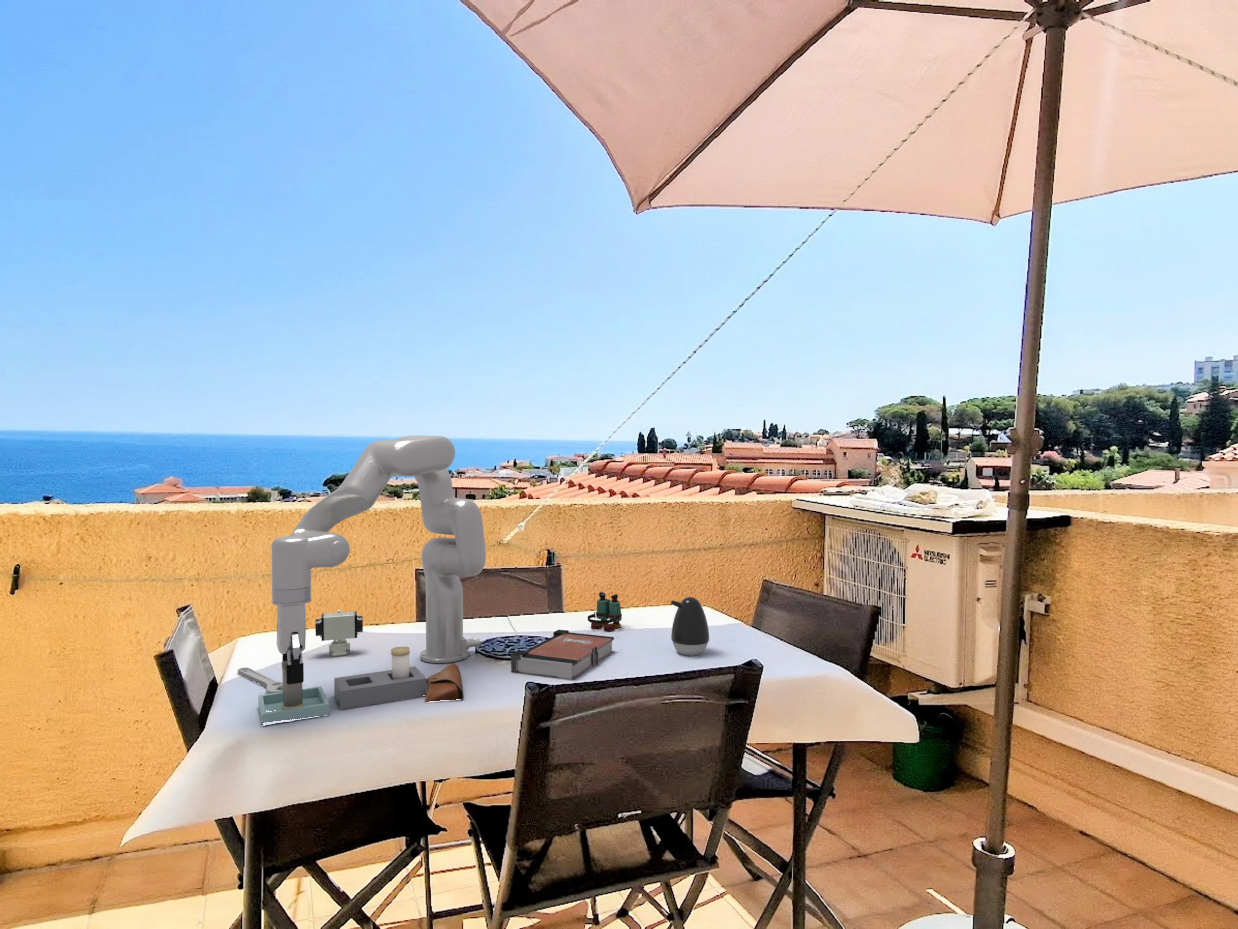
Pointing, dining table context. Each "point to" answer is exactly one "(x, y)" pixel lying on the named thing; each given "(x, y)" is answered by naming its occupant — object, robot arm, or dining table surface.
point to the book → (562, 655)
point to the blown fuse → (291, 691)
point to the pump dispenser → (689, 627)
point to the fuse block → (377, 688)
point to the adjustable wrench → (262, 680)
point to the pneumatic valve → (339, 630)
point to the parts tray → (312, 706)
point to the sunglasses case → (445, 685)
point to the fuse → (400, 662)
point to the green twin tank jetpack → (606, 613)
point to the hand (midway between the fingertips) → (292, 676)
